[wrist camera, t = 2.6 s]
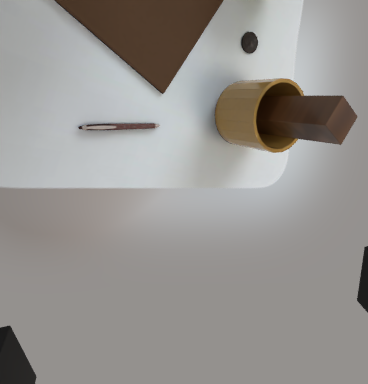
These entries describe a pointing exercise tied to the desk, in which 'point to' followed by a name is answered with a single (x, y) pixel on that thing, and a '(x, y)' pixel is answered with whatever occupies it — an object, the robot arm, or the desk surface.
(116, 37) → the mat
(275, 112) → the block
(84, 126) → the pen
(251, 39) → the coin
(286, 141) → the wooden pot
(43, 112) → the desk surface
